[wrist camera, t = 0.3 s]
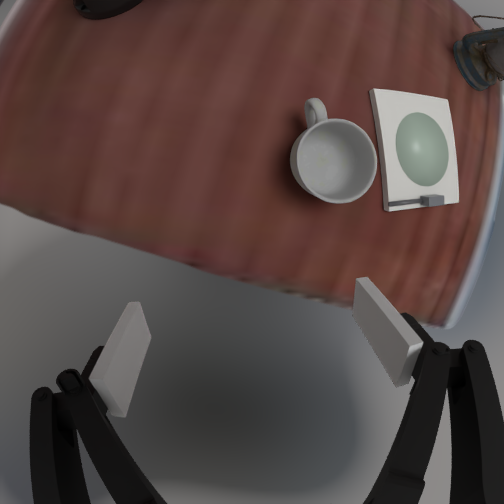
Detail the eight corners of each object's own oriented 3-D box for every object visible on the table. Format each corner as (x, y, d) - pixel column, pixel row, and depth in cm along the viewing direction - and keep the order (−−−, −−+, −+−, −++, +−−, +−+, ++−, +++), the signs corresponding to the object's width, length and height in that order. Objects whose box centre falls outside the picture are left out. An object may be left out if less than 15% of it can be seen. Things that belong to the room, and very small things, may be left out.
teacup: (354, 193, 41) (382, 197, 34) (288, 204, 41) (305, 210, 33) (340, 106, 38) (365, 93, 30) (272, 110, 37) (285, 95, 29)
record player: (366, 90, 37) (379, 84, 34) (442, 100, 39) (455, 98, 35) (382, 210, 43) (395, 213, 39) (453, 201, 44) (467, 204, 40)
